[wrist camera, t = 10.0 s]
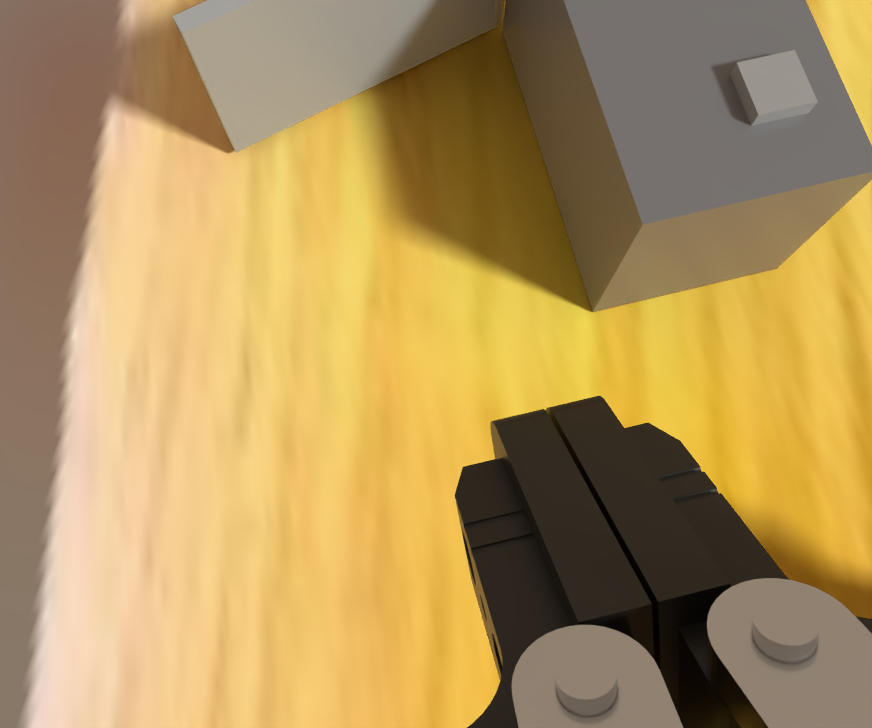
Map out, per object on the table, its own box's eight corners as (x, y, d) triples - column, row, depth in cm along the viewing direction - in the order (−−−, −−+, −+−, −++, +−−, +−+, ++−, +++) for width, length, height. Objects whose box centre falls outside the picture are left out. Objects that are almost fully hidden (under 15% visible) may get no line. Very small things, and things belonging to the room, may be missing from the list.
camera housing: (660, -24, 37) (726, -203, 28) (776, 268, 33) (893, 159, 24) (495, 10, 36) (513, -162, 28) (592, 312, 32) (647, 215, 24)
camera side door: (505, 23, 35) (523, -121, 28) (236, 153, 34) (182, 34, 26) (488, -2, 36) (502, -150, 29) (221, 126, 34) (163, 1, 27)
